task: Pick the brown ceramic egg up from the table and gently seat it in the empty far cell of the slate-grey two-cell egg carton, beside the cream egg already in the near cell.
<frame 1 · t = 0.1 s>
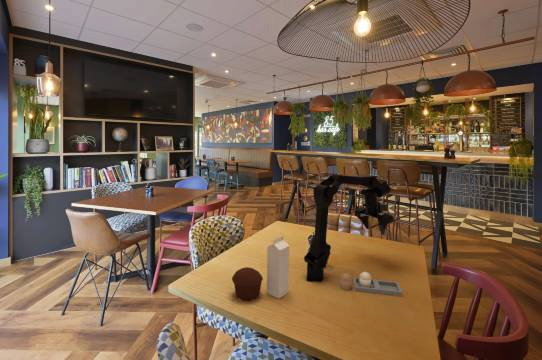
hand: (375, 231, 137), 15 cm above the table, tool pointing down, fingers open, 9 cm apart
milk: (277, 293, 112), on the table
muffin: (247, 295, 110), on the table
carton: (376, 289, 115), on the table
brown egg: (345, 288, 115), on the table
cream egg: (364, 287, 116), resting on carton
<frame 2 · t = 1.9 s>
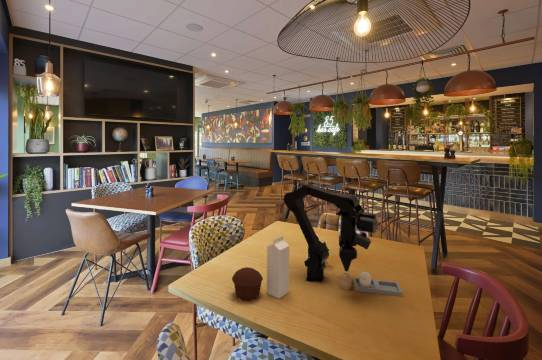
hand: (346, 266, 114), 9 cm above the table, tool pointing down, fingers open, 9 cm apart
nothing on the table moved.
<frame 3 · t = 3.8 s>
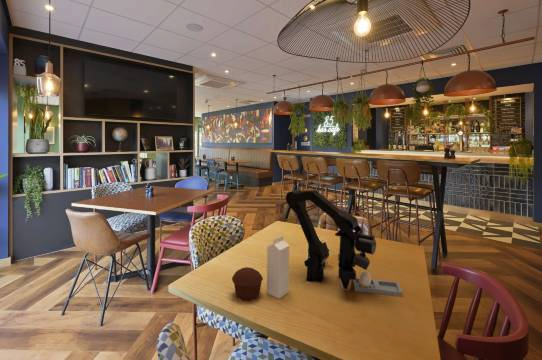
hand: (345, 285, 115), 1 cm above the table, tool pointing down, fingers closed on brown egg, 4 cm apart
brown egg: (345, 288, 115), on the table, touching gripper
everything else where it was.
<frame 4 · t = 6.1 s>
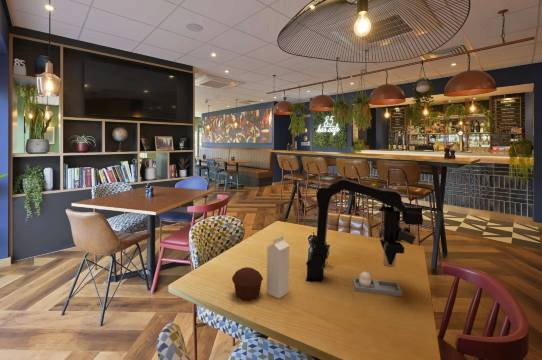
hand: (389, 262, 112), 12 cm above the table, tool pointing down, fingers closed on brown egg, 4 cm apart
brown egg: (389, 264, 112), point 11 cm above the table, touching gripper
everything else where it was.
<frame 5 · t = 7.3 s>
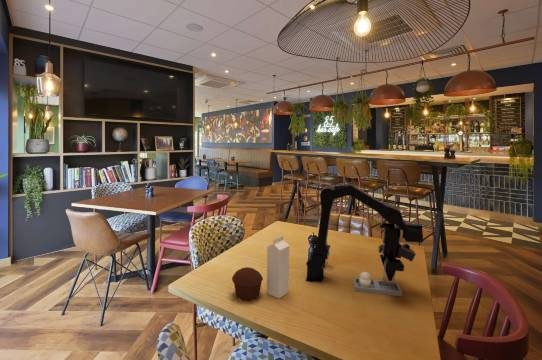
hand: (388, 277, 113), 5 cm above the table, tool pointing down, fingers closed on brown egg, 4 cm apart
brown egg: (388, 280, 113), point 4 cm above the table, touching gripper
everything else where it was.
when the fingers open (3 cm above the table, at t = 8.5 s): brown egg drops 2 cm, resting on carton.
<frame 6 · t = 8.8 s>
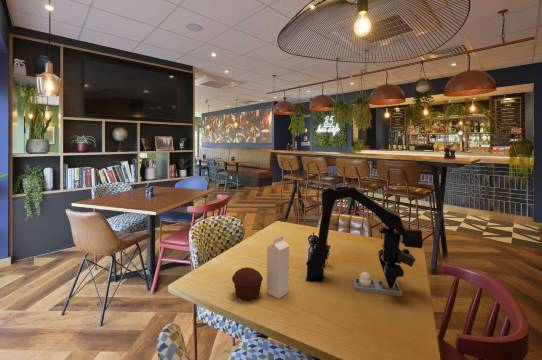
hand: (388, 282, 113), 3 cm above the table, tool pointing down, fingers open, 8 cm apart
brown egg: (388, 289, 114), resting on carton
everything else where it was.
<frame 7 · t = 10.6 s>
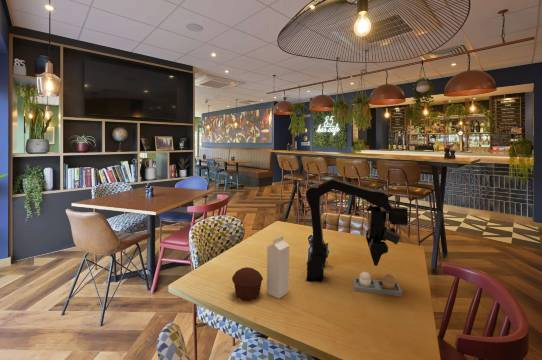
hand: (374, 260, 115), 11 cm above the table, tool pointing down, fingers open, 9 cm apart
nothing on the table moved.
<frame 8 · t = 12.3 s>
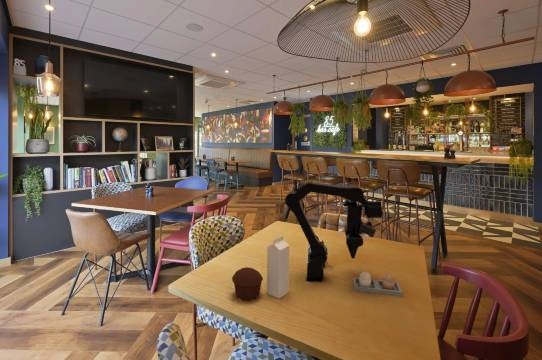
hand: (352, 253, 119), 12 cm above the table, tool pointing down, fingers open, 9 cm apart
nothing on the table moved.
at the end: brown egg 0.0 cm from the target spot on the carton, point 0.4 cm above the carton's base; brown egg tilted 1°; the gripper is holding nothing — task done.
